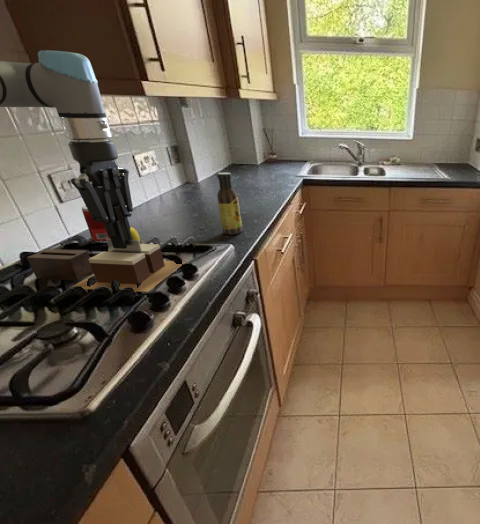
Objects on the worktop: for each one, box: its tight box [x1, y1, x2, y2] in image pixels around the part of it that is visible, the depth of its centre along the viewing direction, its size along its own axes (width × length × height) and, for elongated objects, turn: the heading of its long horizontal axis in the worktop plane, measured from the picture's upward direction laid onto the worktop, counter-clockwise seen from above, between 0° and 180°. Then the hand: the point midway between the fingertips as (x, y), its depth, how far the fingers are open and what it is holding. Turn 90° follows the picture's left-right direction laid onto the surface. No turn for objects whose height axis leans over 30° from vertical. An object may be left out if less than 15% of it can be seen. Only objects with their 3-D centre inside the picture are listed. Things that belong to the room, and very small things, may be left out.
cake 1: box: [89, 251, 151, 284], centre depth 77 cm, size 10×4×6 cm, turn 88°
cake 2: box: [107, 243, 165, 273], centre depth 82 cm, size 10×4×6 cm, turn 87°
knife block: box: [26, 248, 93, 282], centre depth 79 cm, size 10×5×7 cm, turn 87°
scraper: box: [106, 205, 142, 253], centre depth 77 cm, size 8×2×16 cm, turn 87°
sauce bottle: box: [216, 171, 243, 236], centre depth 109 cm, size 6×6×20 cm
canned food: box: [81, 205, 110, 242], centre depth 102 cm, size 8×8×11 cm
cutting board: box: [69, 260, 187, 293], centre depth 81 cm, size 18×16×2 cm
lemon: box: [130, 226, 141, 244], centre depth 95 cm, size 6×6×8 cm
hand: (123, 245), depth 78 cm, fingers closed on scraper, 2 cm apart
